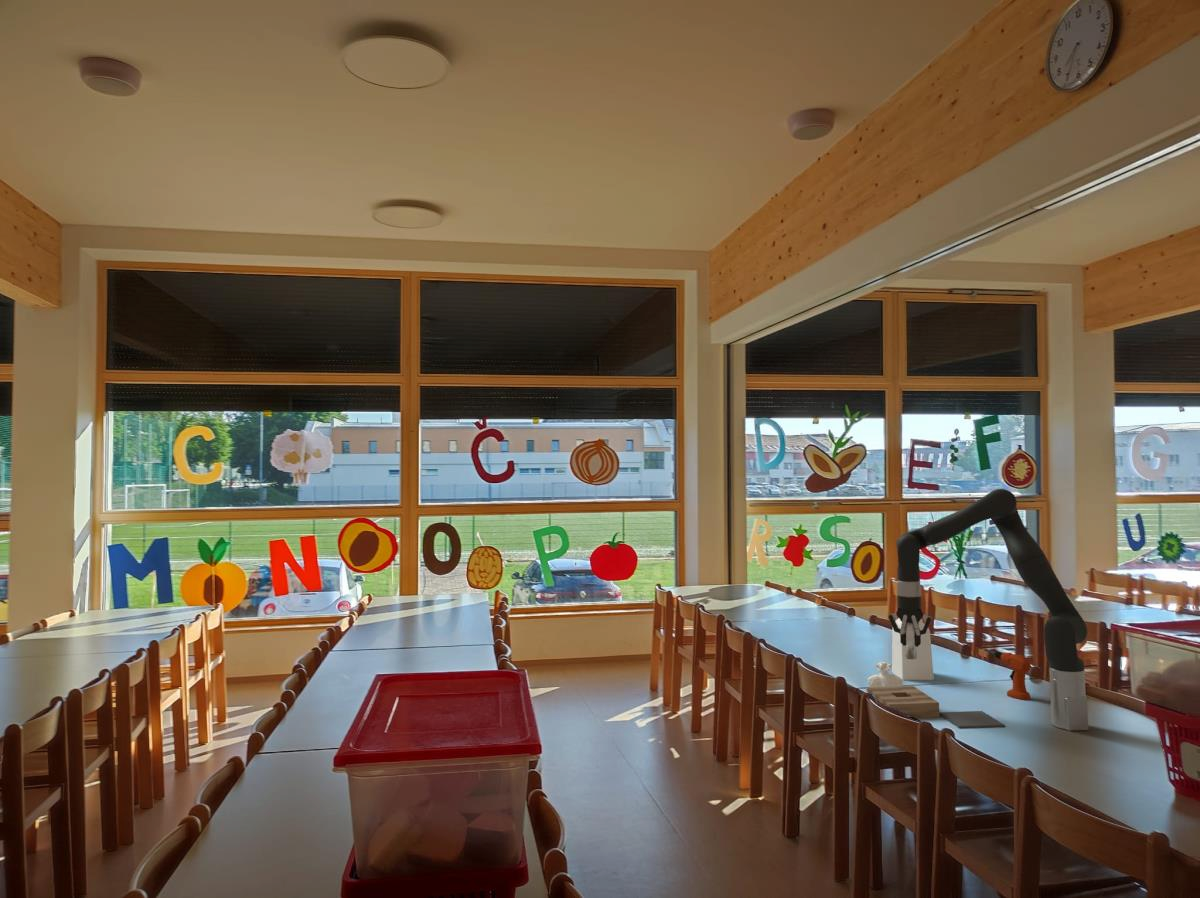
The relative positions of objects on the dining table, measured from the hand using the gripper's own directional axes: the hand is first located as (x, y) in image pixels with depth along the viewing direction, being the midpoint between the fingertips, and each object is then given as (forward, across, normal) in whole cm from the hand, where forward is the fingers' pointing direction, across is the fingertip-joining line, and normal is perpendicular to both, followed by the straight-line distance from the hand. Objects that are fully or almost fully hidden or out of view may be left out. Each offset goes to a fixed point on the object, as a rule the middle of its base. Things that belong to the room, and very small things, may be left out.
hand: (910, 645), depth 263 cm
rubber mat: (+19, -18, +11) cm, 29 cm away
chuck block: (+20, +3, +6) cm, 21 cm away
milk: (+20, +3, -39) cm, 44 cm away
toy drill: (+20, -29, -25) cm, 43 cm away
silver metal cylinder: (+4, 0, 0) cm, 4 cm away
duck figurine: (+20, +10, -13) cm, 26 cm away
